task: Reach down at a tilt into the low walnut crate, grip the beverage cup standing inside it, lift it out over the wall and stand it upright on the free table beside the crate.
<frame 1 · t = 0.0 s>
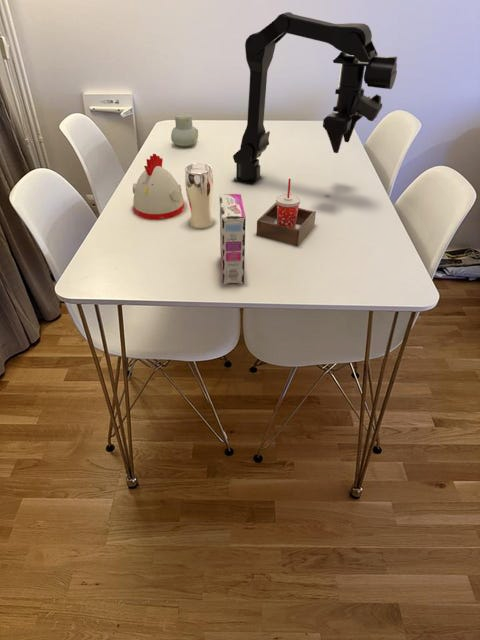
hand: (341, 147, 125), 15 cm above the table, tool pointing down, fingers open, 9 cm apart
beverage cup: (285, 231, 119), resting in crate
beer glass: (201, 223, 123), on the table
air freshener: (185, 144, 168), on the table
candy bar box: (232, 271, 105), on the table
crate: (285, 230, 119), on the table
kitchen timer: (159, 208, 129), on the table
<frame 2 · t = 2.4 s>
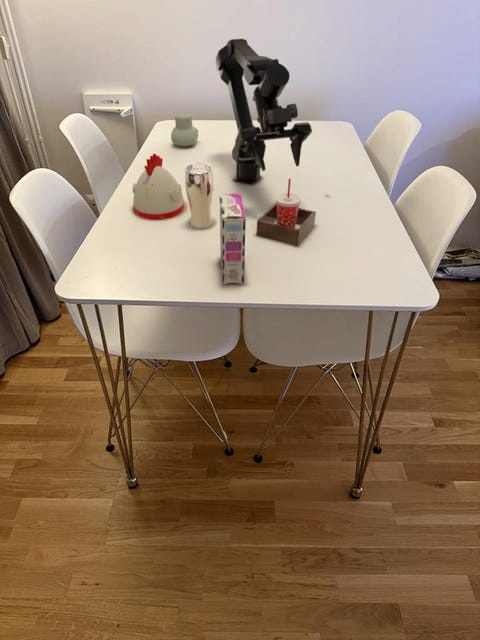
hand: (281, 168, 117), 13 cm above the table, tool tilted 45°, fingers open, 9 cm apart
nothing on the table moved.
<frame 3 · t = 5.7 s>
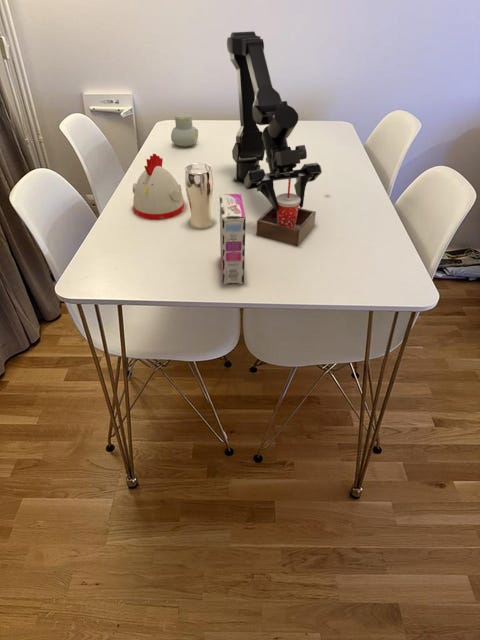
hand: (289, 209, 114), 7 cm above the table, tool tilted 45°, fingers closed on beverage cup, 6 cm apart
beverage cup: (285, 231, 119), resting in crate, touching gripper
everything else where it was.
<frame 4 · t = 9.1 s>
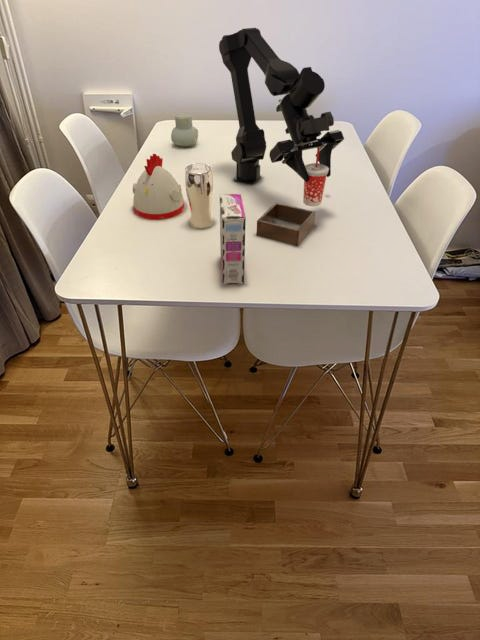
hand: (318, 178, 112), 13 cm above the table, tool tilted 45°, fingers closed on beverage cup, 6 cm apart
beverage cup: (312, 203, 118), point 6 cm above the table, touching gripper
everything else where it was.
when the fingers open (7 cm above the table, at t = 12.9 s): beverage cup stays where it is, on the table.
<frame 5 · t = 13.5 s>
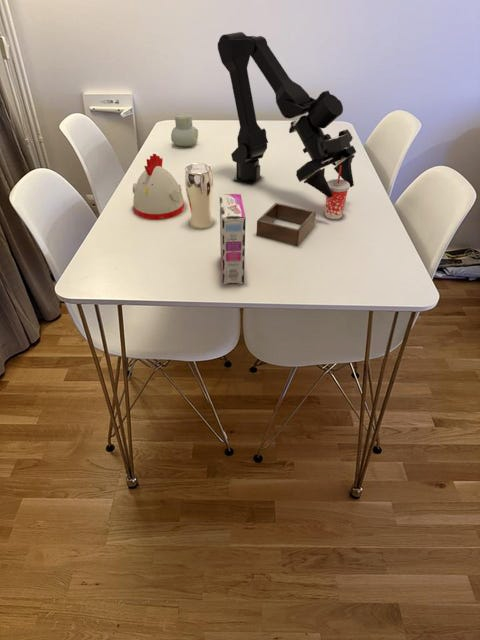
hand: (341, 191, 120), 7 cm above the table, tool tilted 45°, fingers open, 9 cm apart
beverage cup: (333, 215, 126), on the table
everything else where it was.
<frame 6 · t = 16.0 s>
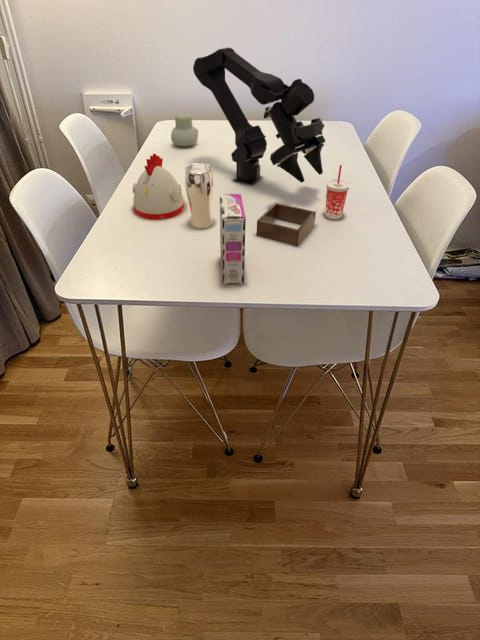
hand: (312, 177, 125), 8 cm above the table, tool tilted 40°, fingers open, 9 cm apart
nothing on the table moved.
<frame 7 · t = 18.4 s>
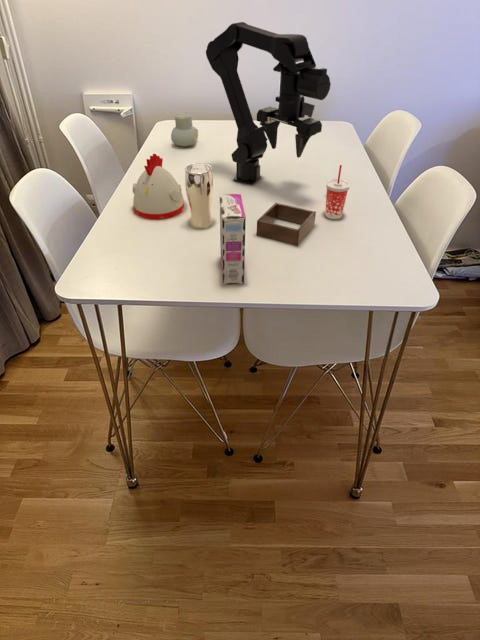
hand: (286, 152, 129), 12 cm above the table, tool pointing down, fingers open, 9 cm apart
nothing on the table moved.
at the end: beverage cup 0.1 cm from the target spot, on the table; beverage cup tilted 0°; beverage cup touching table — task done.
